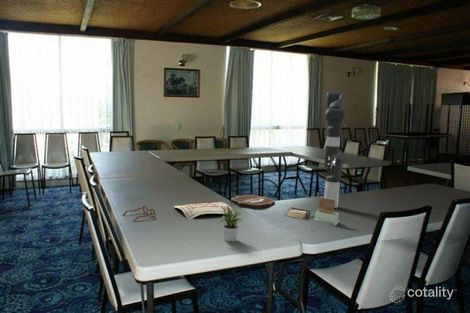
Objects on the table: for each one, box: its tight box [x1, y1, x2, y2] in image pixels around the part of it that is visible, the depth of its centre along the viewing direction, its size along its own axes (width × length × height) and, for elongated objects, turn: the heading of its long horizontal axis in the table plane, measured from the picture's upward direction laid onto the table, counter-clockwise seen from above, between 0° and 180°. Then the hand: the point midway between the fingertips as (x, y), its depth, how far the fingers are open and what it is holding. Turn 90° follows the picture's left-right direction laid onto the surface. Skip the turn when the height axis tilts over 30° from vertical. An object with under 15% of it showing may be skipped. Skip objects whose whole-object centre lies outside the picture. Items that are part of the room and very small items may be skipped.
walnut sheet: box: [318, 196, 335, 214], centre depth 210 cm, size 2×8×12 cm, turn 64°
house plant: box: [217, 206, 246, 242], centre depth 171 cm, size 14×14×16 cm
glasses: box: [122, 205, 156, 222], centre depth 200 cm, size 13×13×5 cm
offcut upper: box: [287, 210, 306, 216], centre depth 213 cm, size 5×9×2 cm, turn 68°
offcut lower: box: [288, 214, 306, 220], centre depth 214 cm, size 5×9×2 cm, turn 64°
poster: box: [173, 201, 236, 220], centre depth 219 cm, size 28×6×30 cm
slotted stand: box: [313, 209, 340, 227], centre depth 211 cm, size 8×12×6 cm, turn 64°
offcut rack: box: [282, 206, 313, 221], centre depth 216 cm, size 12×14×4 cm
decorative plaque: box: [230, 194, 276, 210], centre depth 246 cm, size 30×3×30 cm
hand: (330, 173), depth 211 cm, fingers open, 8 cm apart
